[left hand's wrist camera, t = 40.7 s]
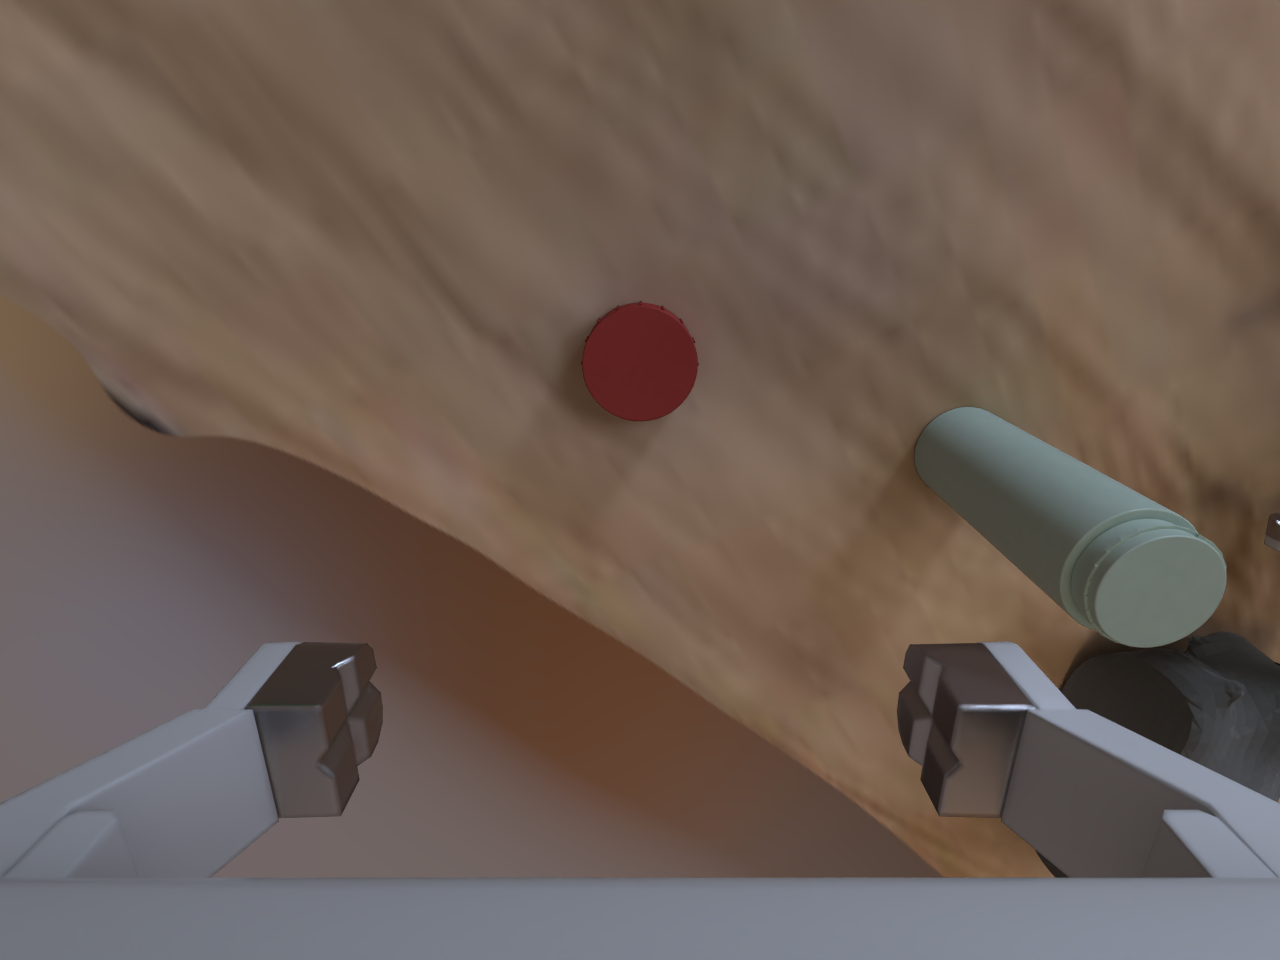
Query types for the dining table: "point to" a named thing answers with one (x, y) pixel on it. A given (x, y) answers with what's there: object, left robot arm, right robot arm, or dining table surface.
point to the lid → (639, 362)
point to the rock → (1192, 705)
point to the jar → (1074, 530)
